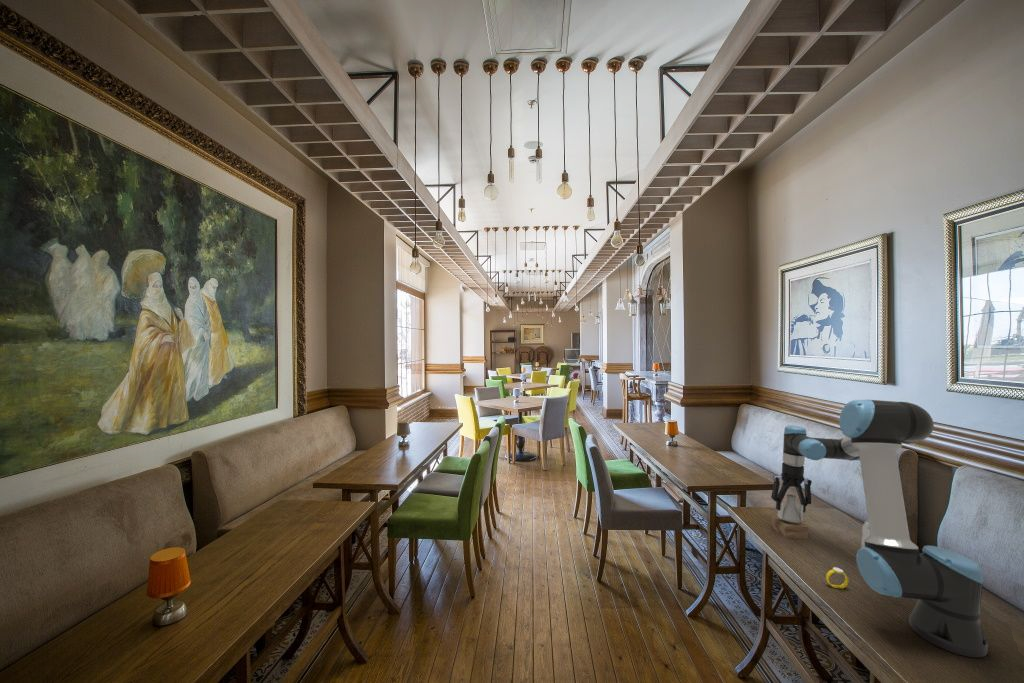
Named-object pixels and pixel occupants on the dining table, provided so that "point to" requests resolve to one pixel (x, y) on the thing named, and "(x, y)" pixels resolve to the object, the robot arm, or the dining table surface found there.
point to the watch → (838, 573)
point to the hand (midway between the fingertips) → (789, 518)
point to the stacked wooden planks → (789, 528)
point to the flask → (791, 510)
